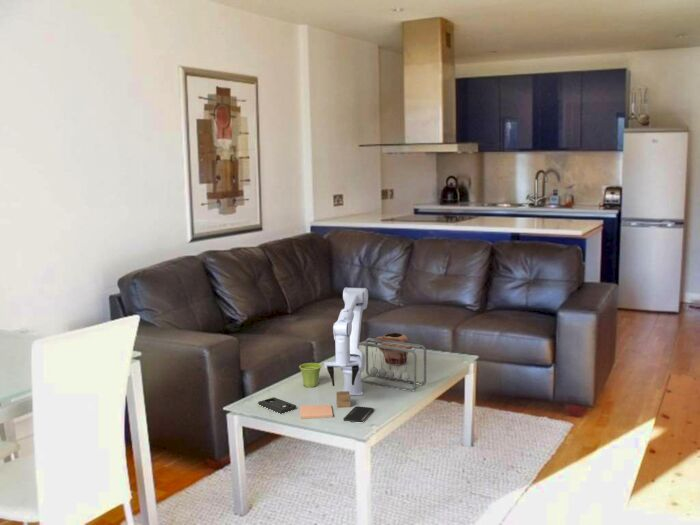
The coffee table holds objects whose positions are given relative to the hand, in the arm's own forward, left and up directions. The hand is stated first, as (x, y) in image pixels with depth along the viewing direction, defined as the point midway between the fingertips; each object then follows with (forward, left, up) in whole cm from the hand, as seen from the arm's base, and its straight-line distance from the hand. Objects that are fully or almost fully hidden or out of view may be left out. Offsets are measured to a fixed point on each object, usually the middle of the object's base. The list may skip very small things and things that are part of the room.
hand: (343, 384), depth 285 cm
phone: (+12, +5, -9) cm, 16 cm away
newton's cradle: (-26, +22, -9) cm, 35 cm away
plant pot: (-27, -12, -9) cm, 31 cm away
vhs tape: (-1, -26, -9) cm, 28 cm away
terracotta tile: (+7, -11, -8) cm, 16 cm away
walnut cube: (0, 0, -8) cm, 9 cm away
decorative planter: (-57, +28, -9) cm, 64 cm away
